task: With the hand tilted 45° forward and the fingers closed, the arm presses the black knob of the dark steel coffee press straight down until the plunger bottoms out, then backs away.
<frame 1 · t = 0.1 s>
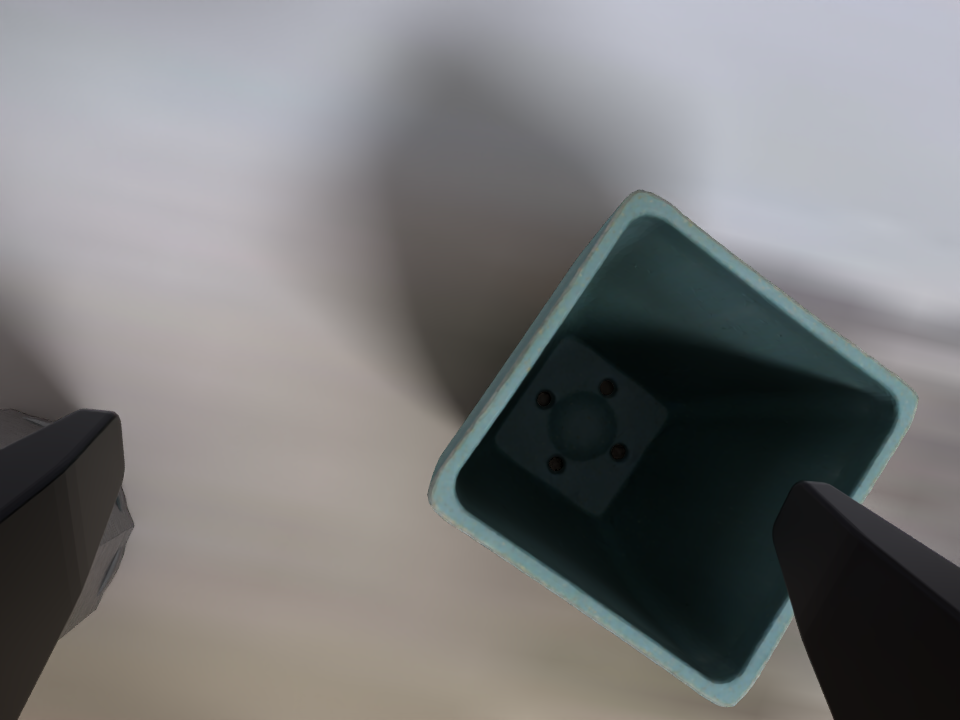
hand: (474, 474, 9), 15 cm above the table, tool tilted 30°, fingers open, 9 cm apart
press pot: (8, 527, 22), on the table
flower pot: (574, 425, 25), on the table
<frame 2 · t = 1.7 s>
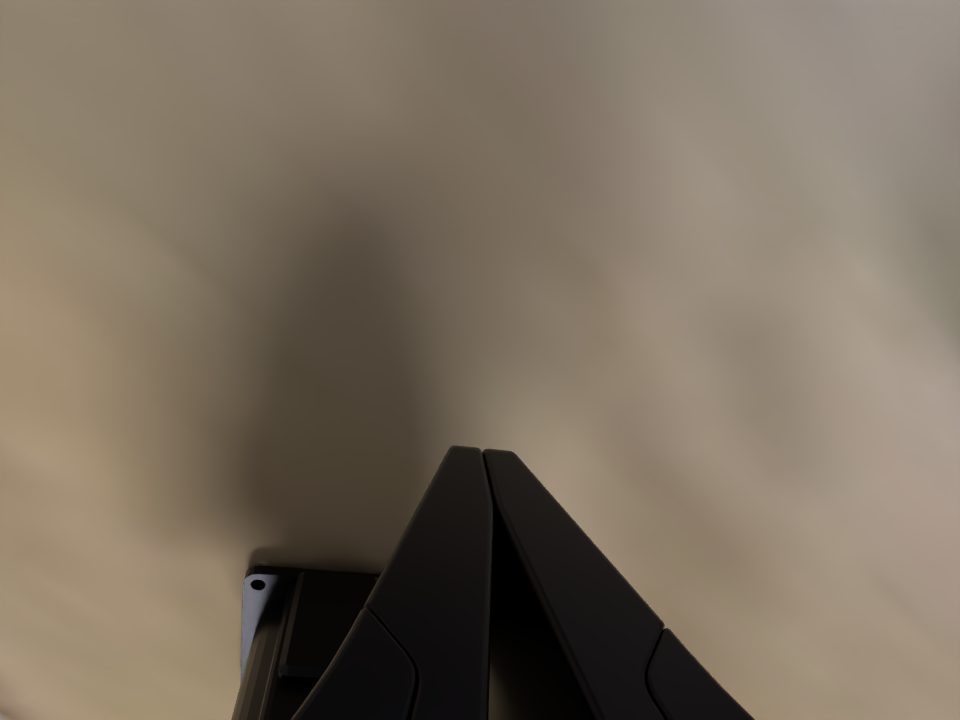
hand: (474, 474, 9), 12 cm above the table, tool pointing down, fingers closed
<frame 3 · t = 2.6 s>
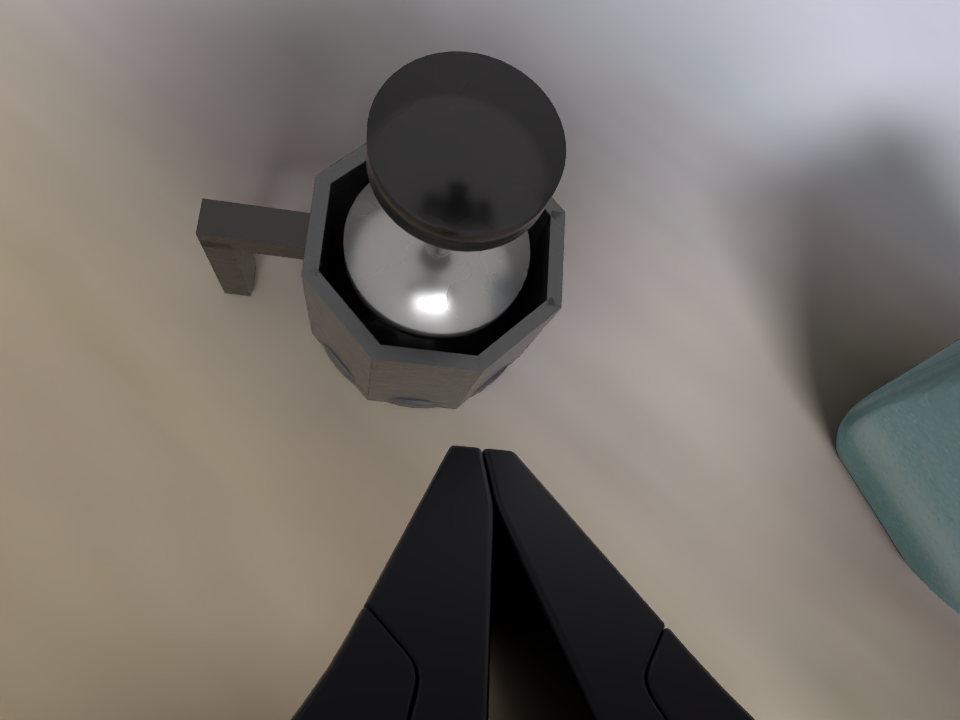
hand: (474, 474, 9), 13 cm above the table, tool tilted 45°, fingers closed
plunger: (450, 204, 17), point 7 cm above the table, slide at 0.0 cm
press pot: (421, 304, 24), on the table
flower pot: (912, 473, 26), on the table
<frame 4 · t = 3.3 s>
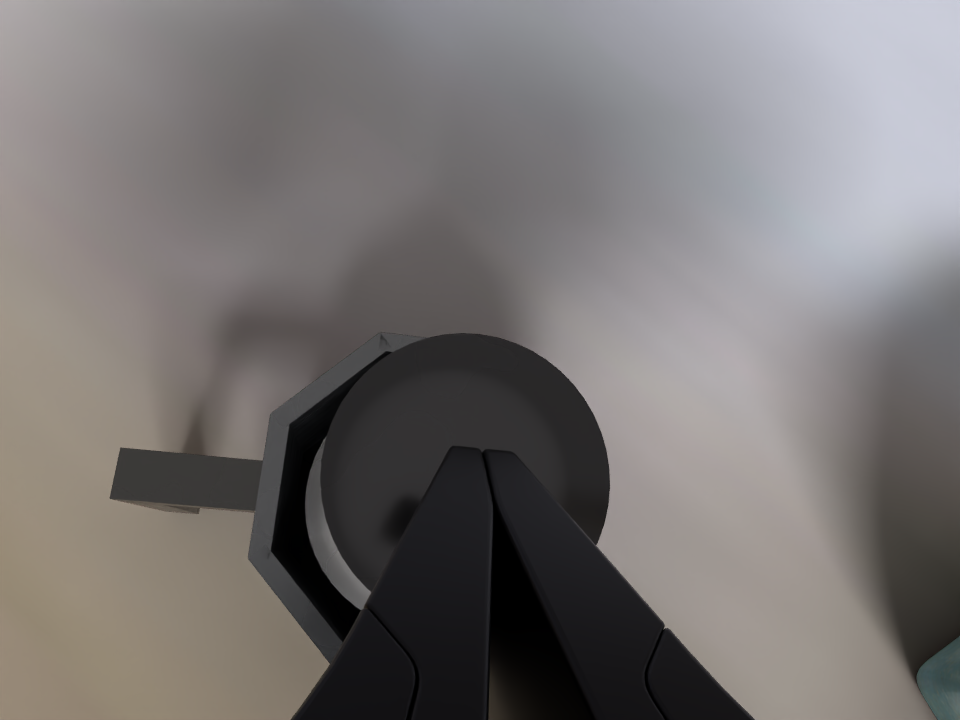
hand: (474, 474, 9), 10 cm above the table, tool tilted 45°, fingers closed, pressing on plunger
plunger: (444, 490, 12), point 7 cm above the table, slide at 0.0 cm, touching gripper
press pot: (411, 512, 19), on the table
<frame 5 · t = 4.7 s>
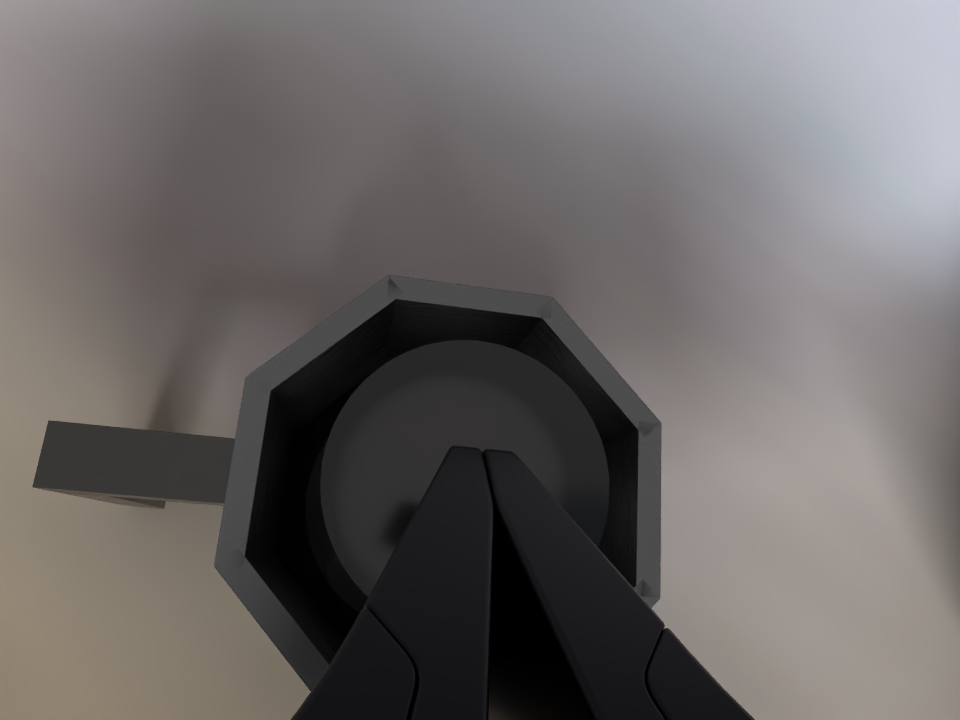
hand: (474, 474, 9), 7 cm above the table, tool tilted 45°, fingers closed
plunger: (444, 495, 12), point 4 cm above the table, slide at 3.5 cm
press pot: (424, 507, 16), on the table
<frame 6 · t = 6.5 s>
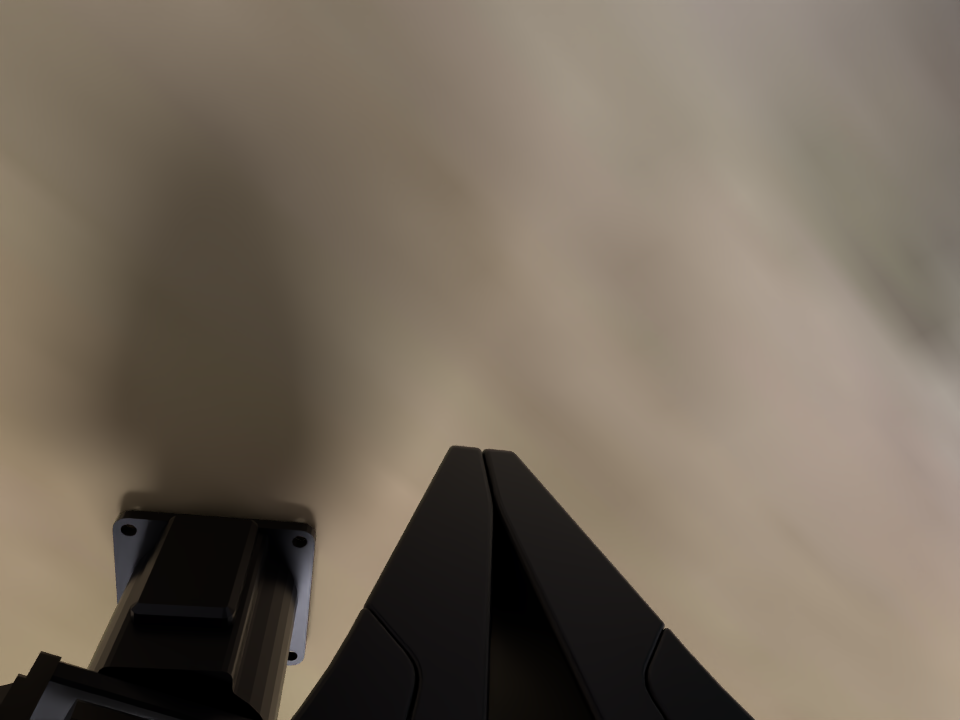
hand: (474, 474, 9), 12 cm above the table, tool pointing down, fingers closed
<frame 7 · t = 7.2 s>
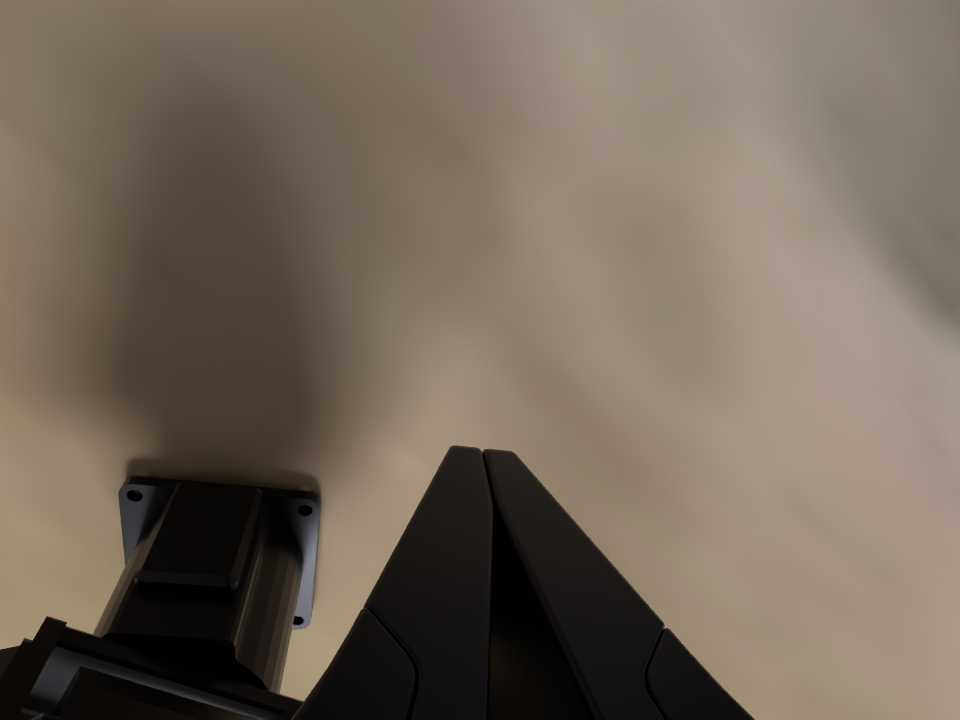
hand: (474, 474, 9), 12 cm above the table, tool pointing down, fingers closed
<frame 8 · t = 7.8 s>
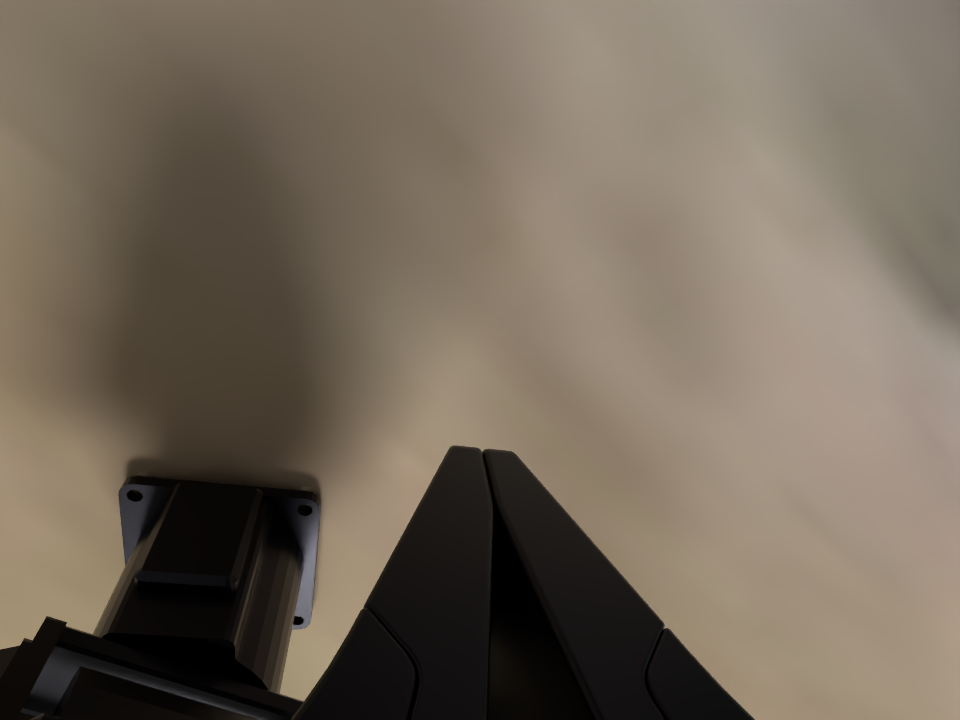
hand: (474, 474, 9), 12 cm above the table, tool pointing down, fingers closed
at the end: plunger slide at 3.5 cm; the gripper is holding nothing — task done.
